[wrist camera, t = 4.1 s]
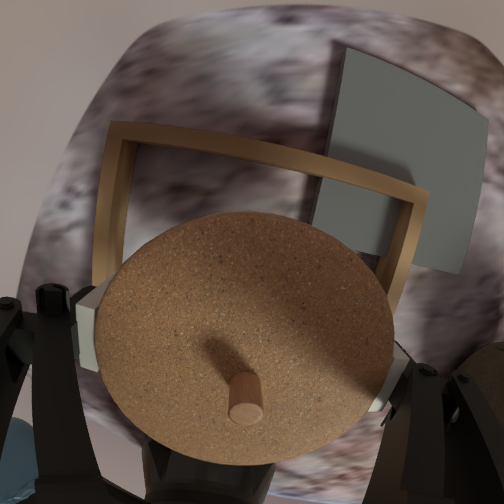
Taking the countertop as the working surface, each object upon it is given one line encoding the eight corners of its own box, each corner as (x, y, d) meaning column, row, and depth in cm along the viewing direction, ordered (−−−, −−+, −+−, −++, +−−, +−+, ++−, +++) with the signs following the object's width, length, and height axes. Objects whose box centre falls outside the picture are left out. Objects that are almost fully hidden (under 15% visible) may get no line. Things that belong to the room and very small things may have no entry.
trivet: (452, 271, 22) (459, 275, 21) (304, 236, 21) (308, 240, 20) (480, 120, 19) (488, 119, 18) (342, 52, 18) (346, 47, 17)
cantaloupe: (401, 401, 26) (457, 500, 12) (481, 301, 23) (575, 370, 9) (451, 421, 28) (497, 490, 14) (515, 344, 25) (577, 399, 11)
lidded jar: (273, 392, 18) (290, 509, 9) (126, 322, 17) (54, 424, 8) (368, 260, 16) (471, 333, 7) (205, 162, 15) (153, 133, 6)
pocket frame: (351, 365, 24) (361, 385, 22) (107, 321, 23) (93, 338, 20) (409, 188, 20) (430, 191, 18) (127, 126, 19) (110, 120, 16)
